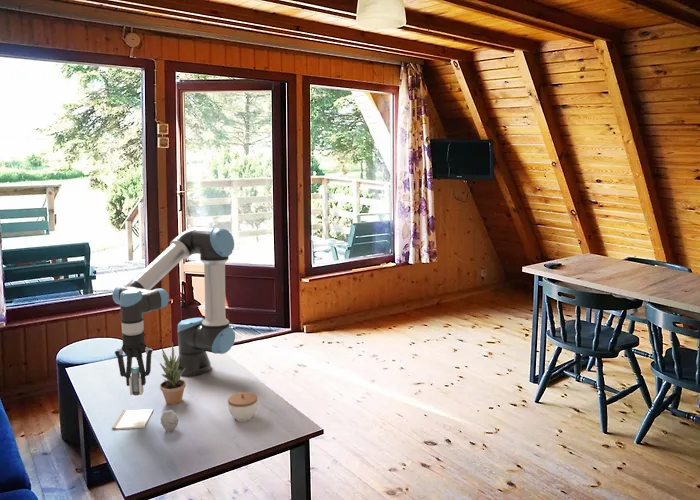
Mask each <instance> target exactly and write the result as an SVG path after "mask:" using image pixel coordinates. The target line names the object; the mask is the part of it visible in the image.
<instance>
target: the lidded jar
mask: <svg viewBox="0 0 700 500" xmlns="http://www.w3.org/2000/svg"><path fill="white" fill-rule="evenodd" d="M227 404H228V411H229V413H230V415H231V417H232V418H234V419H236V420H235V421H237V422H248V421H250V420H251V419H252V418H253V417H254V415H256V412H257V409H258V395H257V394H256V393H254V392H249V391H248V392H247V391H244V392H243V391H242V392H235V393H233V394H232V395H230V396H228V398H227ZM249 419H250V420H249ZM247 420H248V421H247Z"/></svg>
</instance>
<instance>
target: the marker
mask: <svg viewBox="0 0 700 500" xmlns="http://www.w3.org/2000/svg"><path fill="white" fill-rule="evenodd" d="M131 376H132V388H133V394H132V396H141V395H140V392H139V377H140V371H139V366H133V367H131Z"/></svg>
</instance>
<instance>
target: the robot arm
mask: <svg viewBox="0 0 700 500" xmlns="http://www.w3.org/2000/svg"><path fill="white" fill-rule="evenodd" d="M234 249H235V240H234V236H233V234H232V233H230V231H229V230H227V229H226V228H222V227H212V226H202V225H201V226H200V225H199V226H192V227H190V228H188V229H185V230H184V231H183V232H181V233H180V234H178V235H177V236H176V237H174V238H173V239H172V240H171V241H170V242H169V246H168V247H167V248H166V249H164V251H163V252H161V253H160V254H159V255H158V256H157V257H156V258H155V259H154V260H153V261H151V263H149V264H148V265H147V266H146V267H145V268H143V270H142V271H141V272H139V273H138V274H137V275H136V276H135V277H133V278H132V279H131V281H129V282H128V283H127V284H123V285H118V286H116V287H115V288H114V289H113V292H112V300H113V302H114V303H115V304H116V305H119V309H120V310H119V311H120V319H121V320H120V321H121V323H120V324H121V333H122V335H121V337H122V338H121V339H122V340H121V341H122V346H121V348H117V349H116V350H115V351H114V354H115V356H116V357H117V362H118V363H117V364H118V369H119V374H120V375H119V376H120V377H124V378H125V381H126V383H125V384H126V386H127V387H128V386H129V387H128V388H129V395H130V396H133V388H132V373H131V368H132V364H133V358H135V359H136V361H137V365H138V366H137V367H139V371H140V377H139V392H140V395H139V396H142V395H143V394H144V391H145V390H144V386H145V385H146V383H147V381H146V379H147V378H146V377H147V376H149V375H150V374H151V370H152V369H151V368H152V353H153V352H154V348H153V347H150V348H149V347H147V345H146V343H145V332H144V331H145V328H144V327H145V326H144V314H146V313H149V312H154V311H157V310H160V309H162V308H165V307H167V306H168V305H169V301H170V295H169V293H168V292H167V290H165V289H164V288H154V289H153V287H155V286H156V285H157V284H158V283H159V282H160V281H161V280H162V279H163V278H164V277H166V276H167V275H168V273H170V272H171V270H173V268H175V267H176V266H177V265H178V264H179V263H180V262H181V261H182V260H186V259H188V258H189V257H190V256H191V255H195V254H196V255H198V254H199V255H200V261H201V262H202V263H203V265H204V266H203V267H204V268H203V269H204V273H203V274H204V275H203V276H204V277H203V279H204V317H192V318H187V319H184V320H181V321H180V322H179V323H178V324H177V341H178V342H177V343H178V356H177V358H178V357H179V361H178V362H179V367H178V370H177V372H178V371H179V370H180V372H182V371H183V370H184V369H185V368H186V369H185V370H184V371H183V373H182V375H181V376H183V377H184V376H188V377H192V376H193V377H194V376H199V375H204V374H206V373H208V372H209V371H210V370H211V367H212V366H211V365H212V364H211V361H210V358H209V356H208V354H207V353H213V354H219V355H224V354H227V353H228V352H230V350H231V349H232V347H233V346H234V344H235V341H236V333H235V330H234V329H233V328H232V327H230V320H229V319H228V318H227V316H226V315H227V314H226V263H227V261H228V260H229V257H230V256H231V255H232V254H233V253H234V252H233V251H234ZM144 351H145V354H146V357H145V358H146V359H145V366H144V360H143V353H144ZM123 354H125V356H126V365H125V362H124V361H125V360H124V356H123ZM180 372H179V373H180Z"/></svg>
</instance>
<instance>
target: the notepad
mask: <svg viewBox="0 0 700 500" xmlns="http://www.w3.org/2000/svg"><path fill="white" fill-rule="evenodd" d="M153 412H154V409H153V408H151V409H149V408H147V409H146V408H145V409H130V410H129V409H125V410H122V412H121V413H120V414H119V416H118V418H117V420H116V421H115V423H114V424H113V426H112V427H111V429H114V430H130V429H133V428H134V429H145V427H146V426H147V424H148V422H149V420H150V418H151V416H152V414H153Z"/></svg>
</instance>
